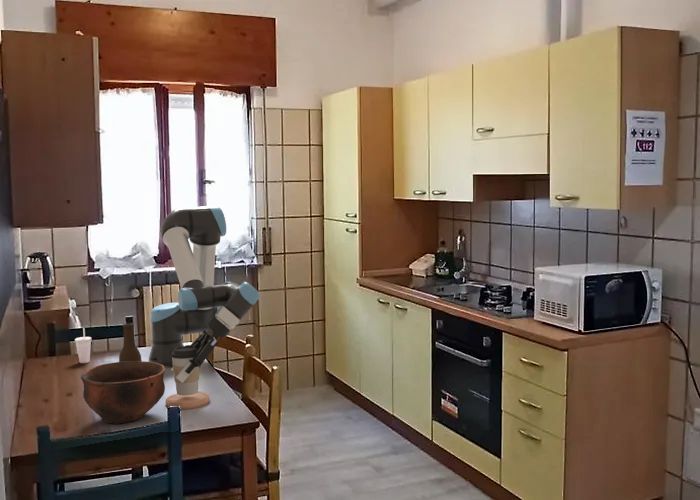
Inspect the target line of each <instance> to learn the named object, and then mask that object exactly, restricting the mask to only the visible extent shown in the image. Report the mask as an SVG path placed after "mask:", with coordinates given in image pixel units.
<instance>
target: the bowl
mask: <svg viewBox="0 0 700 500" xmlns="http://www.w3.org/2000/svg"><path fill="white" fill-rule="evenodd" d="M165 372H166V367H164V365H161V364H158V363H155V362H149V361H143V360H142V361H124V362H119V361H116V362H110V363H109V362H108V363H104V364H99V365H96V366H93V367H91V368H89V369H88V370H87V371H85V372H83V373H82V374H81V376H80V379H81V381H82V383H83V394H82V395H83V399H84V401H85V403H86V404H87V405H88V407H89V408H91V410H92V411H93V412H95V414H97V415H98V416H99V417H100V418H101V420H103V421H104V422H105V423H106V424H107V423H108V424H126V423H129V422H135V421H137V420H139V419H141V418H142V417H144V416H145V415H146V414H147V413H148V412H149V411H150V410H151V409H153V408H154V407H155V406H156V405H157V404H158V402H159V401H160V400H161V399H162V398H163V396H164V394H165V391H166V386H165V379H164V378H165Z"/></svg>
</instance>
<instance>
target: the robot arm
mask: <svg viewBox="0 0 700 500" xmlns="http://www.w3.org/2000/svg"><path fill="white" fill-rule="evenodd" d="M226 222H227V221H226V217H225V214H224V211H223V210H222V209H221V207H220V206H217V205H216V206H215V205H214V206H213V205H212V206H211V205H205V206H188V207H185V206H183V207H178V208H175V209H173V210H171V211H170V212H169V213H168V214H167V215H166V216H165V218H164V220H163V222H162V225H161V231H160V233H161V239H162V242H163V243H164V245H165V246H166V247H167V248H168V251H169V254H170V258H171V261H172V263H173V266H174V269H175V270H174V271H176V272H175V273H176V276H177V278H178V281H179V284H180V287H181V288H180V289H179V290H178V292H177V301H178V302H176V301H175V302H167V303H162V304H159V305H157V306H154V307H152V309H151V311H150V327H151V328H150V329H151V343H152V345H151V349H150V352H149V356H148V362H155V363H158V364H161V365H164V367H165V368H171V370H170V371H171V372H172V373H174V372H173V360H172V357H171V356H172V352H173V351H174V350H175V349H176V348H179V347H184V346H185V345H184V343H183V336H185V335H186V336H187V335H194V334H200V335H199V336H197V338H195V340H194V341H192V343H191V344H190V345H192V346H193V347H195V348H196V349H197V350H198V352H197V353H196V355H195V356H194V358H193V359H192V360H189V363H188V364H187V365H186V366H185V367H184V368H183V370H182V371H181V372H180V373H179V374H178V375H177V377H176V378H177V379H178V380H179V381H181V382H182V383H183V382H184V381H185V380H186V378H187V377H188V376H189V375H190V374H191V373H192V371H193V370H194V369H195V368H196V367H198V366H199V368H200V367H201V366H202V365H203V363H204V362H205V360H206V359H207V358H208V357H209V356H210V354H211V352H213V350H214V349H215V348H216V347H217V345H219V341H218V339H219V337H220V338H221V339H225V338H226V337H227V336H228V335H229V334H230V333H231V330H233V329H234V328H235V327H236V326H238V325H239V322H240V321H241V320H242V319H243V317H244V316H246V314H247V313H248V312H249V311H250V310H251V308H252V307H253V306H254V305H255V304H256V303H257V301H258V300H259V299H260V297H261V294H260V292H259V291H258V290H257V289H256V288H255V287H254V286H253V285H251V284H250V283H249V282H247V281H243V282H242V283H241V284H240V285H239V284H238V283H236V282H233V281H225V282H223V283H221V284H214V281H215V280H214V279H215V265H216V250H217V249H216V247H217V246H218V245H219V244H220V243H221V237H225V236H226V234H227V223H226ZM190 243H192V246H193V247H191V245H190Z"/></svg>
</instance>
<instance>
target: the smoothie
mask: <svg viewBox="0 0 700 500" xmlns="http://www.w3.org/2000/svg"><path fill="white" fill-rule="evenodd" d="M82 332H83V333H82V334H83V336H80V337H76V338H75V339H74V342H75V345H76V349H77V355H78V361H79V363H80V364H86V363H89V362H90V359H91V358H90V357H91V346H92V345H91V342H92V337H91V336H86V330H85V327H83V328H82Z"/></svg>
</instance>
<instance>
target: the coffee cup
mask: <svg viewBox="0 0 700 500" xmlns="http://www.w3.org/2000/svg"><path fill="white" fill-rule="evenodd" d="M197 352H198V350H197V349H196V348H195V347H193V346H192V345H191V344H188V345H187V344H186V345H184V347H179V348H176V349H175V350H174V351H173V352H172V356H171V357H172V360H173V367H172V368H173V372H172V373H173V378H174V383H175V389H176V391H175V392H176V394H178V395H183V396H186V395H193V394H196V393H198V392H199V380H200V367H199V366H198V367H196V368H195V369H194V370H193V371H192V373H191V374H190V375H189V376H188V377H187V378H186V380H185V381H184V382H183V383H182V382H181V381H179V380H178V379H177V378H176V377H177V375H178V374H179V373H180V372H181V371H182V370H183V368H184V367H185V366H186V365H187V364H188V363H189V360H192V359H193V358H194V356H195V355H196V353H197Z"/></svg>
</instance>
